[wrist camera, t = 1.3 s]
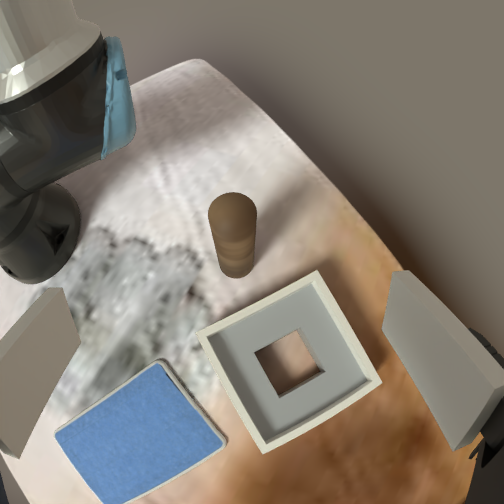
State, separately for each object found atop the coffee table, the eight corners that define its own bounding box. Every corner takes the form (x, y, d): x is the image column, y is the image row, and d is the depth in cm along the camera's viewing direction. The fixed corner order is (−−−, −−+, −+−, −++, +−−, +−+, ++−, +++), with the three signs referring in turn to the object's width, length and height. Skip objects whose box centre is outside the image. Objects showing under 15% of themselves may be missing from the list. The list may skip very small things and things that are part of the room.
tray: (201, 336, 33) (195, 332, 29) (309, 280, 36) (317, 269, 32) (260, 444, 29) (262, 454, 25) (368, 381, 31) (382, 382, 28)
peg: (213, 255, 37) (200, 204, 25) (243, 240, 37) (243, 185, 26) (228, 284, 35) (220, 243, 24) (259, 268, 36) (265, 222, 25)
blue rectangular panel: (162, 356, 33) (159, 356, 31) (231, 443, 29) (230, 445, 28) (55, 431, 28) (49, 433, 27) (112, 510, 25) (109, 513, 23)
